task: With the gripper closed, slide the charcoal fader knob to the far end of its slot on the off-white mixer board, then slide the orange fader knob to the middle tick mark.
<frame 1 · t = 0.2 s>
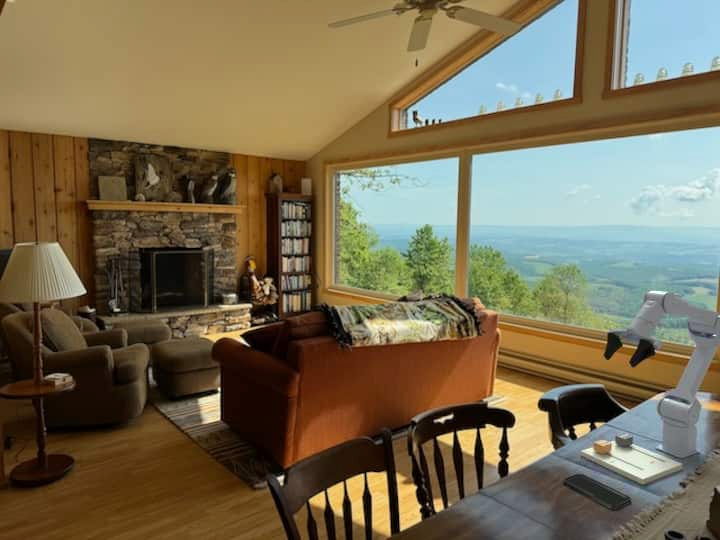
hand: (618, 361, 136), 31 cm above the table, tool tilted 45°, fingers open, 7 cm apart
phone: (595, 493, 127), on the table
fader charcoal: (624, 439, 151), point 3 cm above the table, slide at 0.0 cm
fader orange: (602, 446, 146), point 3 cm above the table, slide at 0.0 cm
mixer board: (629, 462, 143), on the table
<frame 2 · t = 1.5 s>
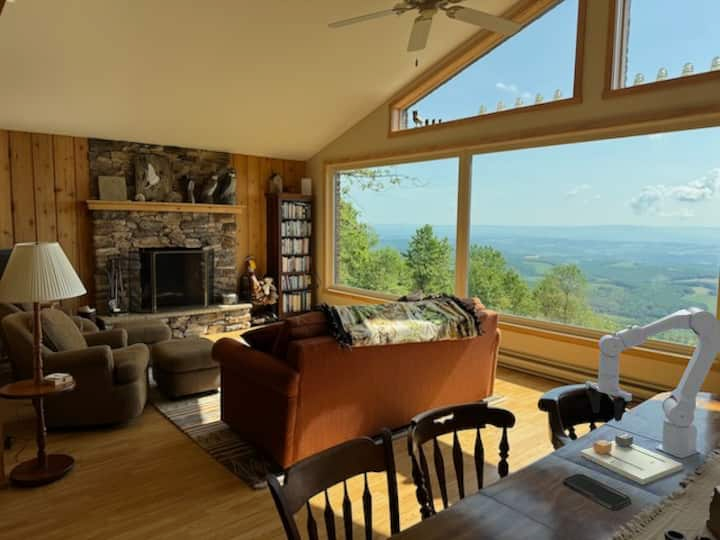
hand: (606, 416, 156), 8 cm above the table, tool pointing down, fingers open, 7 cm apart
nothing on the table moved.
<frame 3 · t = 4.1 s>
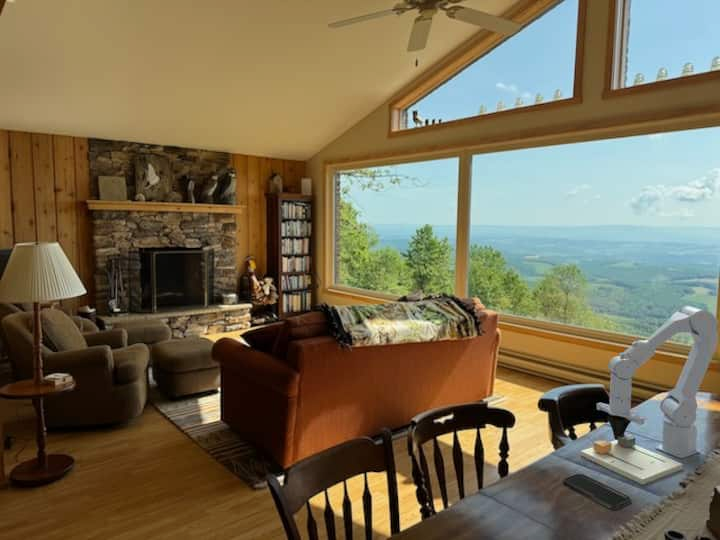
hand: (618, 439, 153), 3 cm above the table, tool pointing down, fingers closed
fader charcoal: (626, 440, 150), point 3 cm above the table, slide at 0.8 cm, touching gripper
everything else where it was.
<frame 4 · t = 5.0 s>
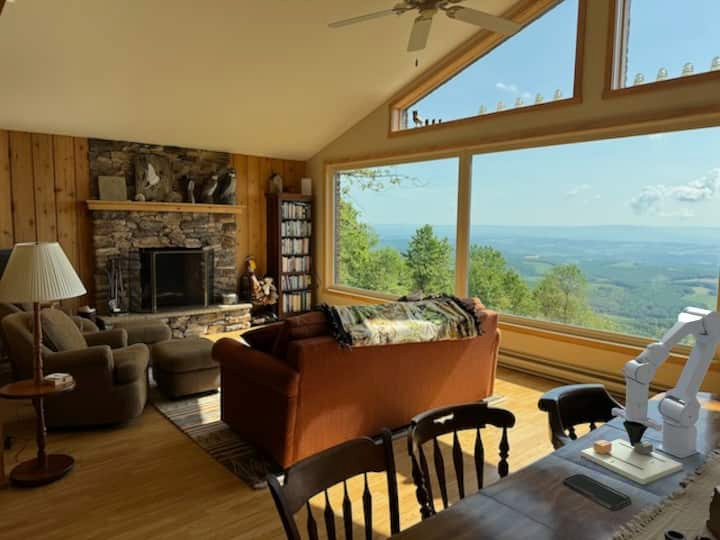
hand: (634, 445, 148), 3 cm above the table, tool pointing down, fingers closed
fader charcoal: (643, 447, 146), point 3 cm above the table, slide at 6.1 cm, touching gripper
everything else where it was.
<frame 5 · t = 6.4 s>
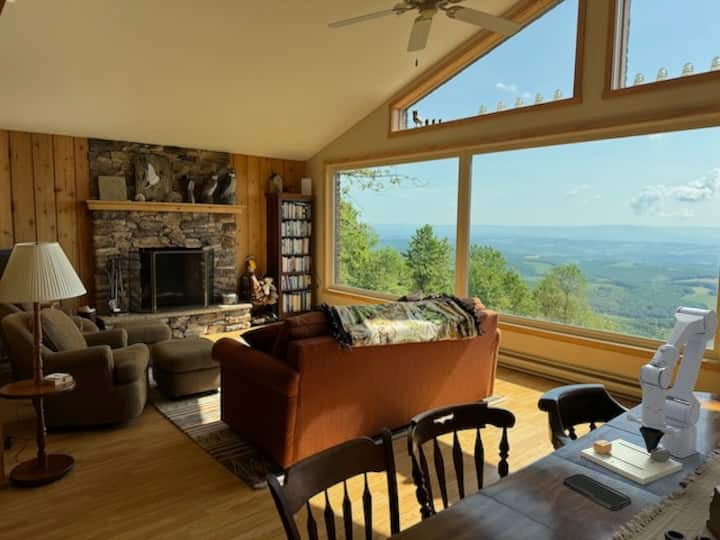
hand: (651, 452, 144), 3 cm above the table, tool pointing down, fingers closed
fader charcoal: (660, 454, 141), point 3 cm above the table, slide at 11.0 cm, touching gripper
everything else where it was.
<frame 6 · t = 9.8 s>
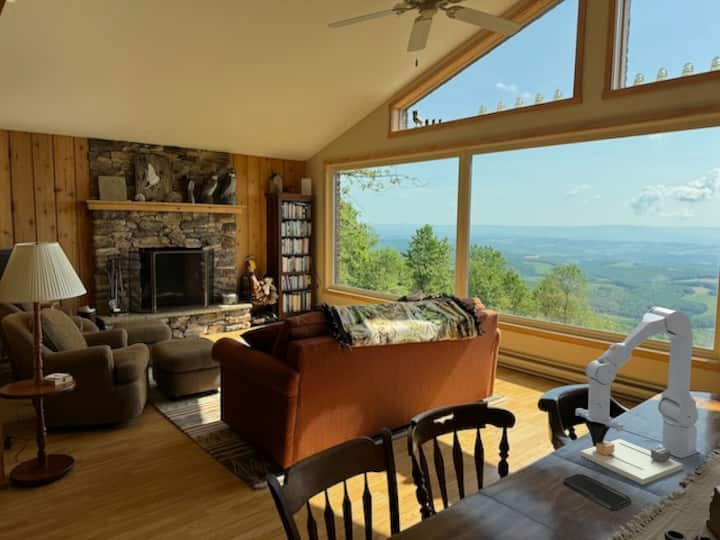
hand: (597, 446, 148), 3 cm above the table, tool pointing down, fingers closed
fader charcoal: (660, 454, 141), point 3 cm above the table, slide at 11.1 cm
fader orange: (605, 447, 146), point 3 cm above the table, slide at 0.9 cm, touching gripper
everything else where it was.
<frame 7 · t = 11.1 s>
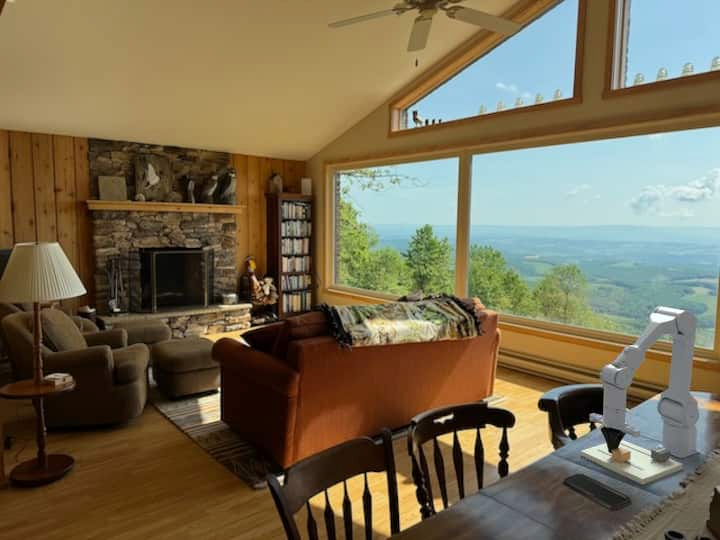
hand: (612, 452, 144), 3 cm above the table, tool pointing down, fingers closed
fader orange: (621, 454, 141), point 3 cm above the table, slide at 5.9 cm, touching gripper
everything else where it was.
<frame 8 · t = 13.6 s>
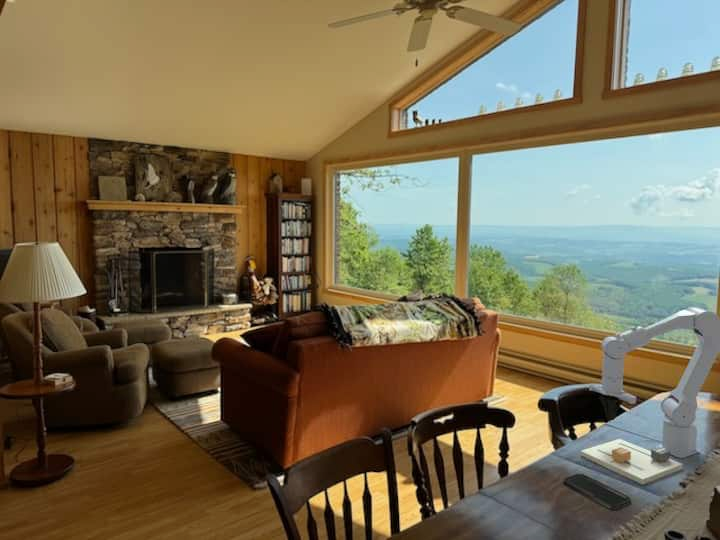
hand: (610, 419, 154), 8 cm above the table, tool pointing down, fingers closed
fader orange: (621, 454, 141), point 3 cm above the table, slide at 6.0 cm
everything else where it was.
at the end: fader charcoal slide at 11.1 cm; fader orange slide at 6.0 cm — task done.
